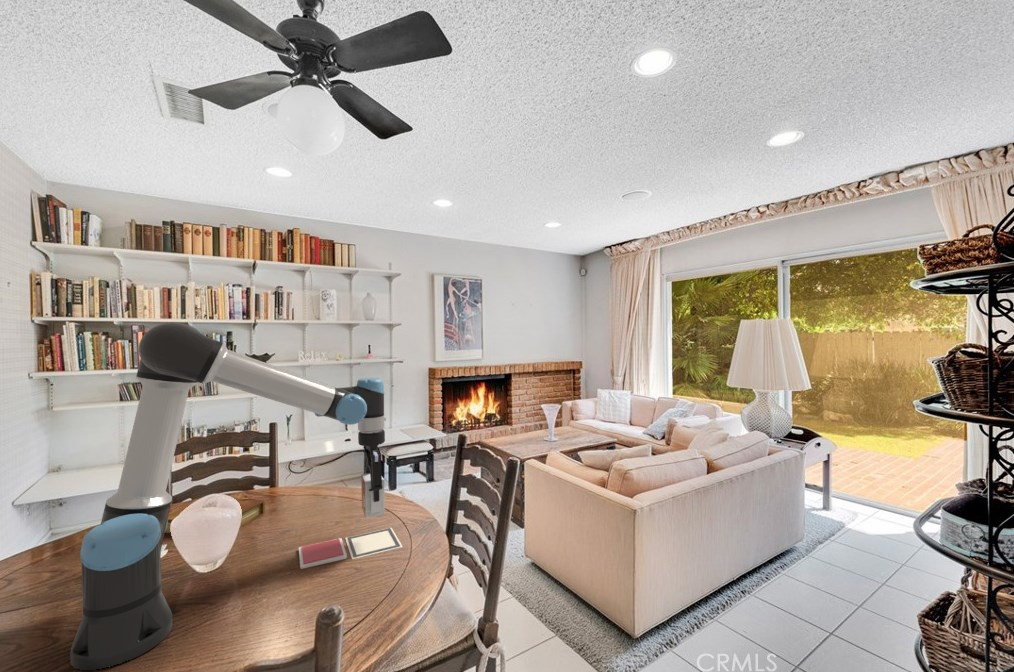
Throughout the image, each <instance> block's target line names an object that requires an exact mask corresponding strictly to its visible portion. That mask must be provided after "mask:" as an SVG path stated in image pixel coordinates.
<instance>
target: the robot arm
mask: <svg viewBox="0 0 1014 672" xmlns="http://www.w3.org/2000/svg"><path fill="white" fill-rule="evenodd" d="M138 355H139V358H140V360H139V364H138V368H137V372H136V376H135V378H136V379H137V380H138V381H139V383H140V384H141V385H142V387H141V392H140V395H139V396H140V397H139V400H138V405H137V409H136V413H135V417H134V422H133V426H132V430H131V434H130V438H129V443H128V447H127V451H126V455H125V459H124V463H123V468H122V471H121V477H120V479H119V485H118V489H117V492H116V493H114V494H113V495H112V496H110V497H109V498H107V499H106V502H105V505H104V509H103V513H102V517H101V521H100V524H98V525H95V526H94V527H93V528H91V529H90V530H89V531H88V532H87V533H86V534H85V535H84V537H83V539H82V543H81V548H80V550H79V551H80V552H79V557H80V561H81V585H82V586H81V587H82V588H81V589H82V592H81V593H82V616H81V617H82V618H81V621H80V622H79V623H80V624H79V626H78V628H77V630H76V631H77V632H76V634H75V637H74V640H73V642H72V645H71V647H70V665H71V667H72V666H73V667H74V668H73V667H72V668H73V669H75V668H76V669H75V670H77V669H80V670H79V671H82V670H93V671H97V670H96V669H100V670H103V669H102V668H105V669H107V668H106V667H109V666H112V667H114V666H113V665H116V664H119V665H120V663H121V664H123V663H122V662H124V663H126V662H125V661H127V662H128V660H129V661H131V660H133V659H136V658H137V657H140V656H141V655H143V654H145V653H147V652H149V651H150V650H152V649H153V648H154V647H156V646H157V645H159V644H160V643H161V642H162V641H163V640H165V639H166V637H168V635H169V634H170V632H171V631H172V629H173V625H174V624H173V623H174V622H173V613H172V611H171V608H170V606H169V604H168V602H167V600H166V598H165V596H164V594H163V592H162V572H161V571H162V570H161V569H162V567H161V565H162V563H161V559H162V558H161V548H162V545H163V542H164V537H165V533H166V532H165V531H166V528H167V523H168V515H169V513H170V512H171V511H170V509H171V506H172V501H173V496H171V494H170V493H169V492H168V491H167V487H168V484H169V480H170V479H169V478H170V474H171V470H172V467H173V466H172V465H173V461H174V456H175V453H176V448H177V444H178V439H179V435H180V430H181V425H182V421H183V417H184V412H185V408H186V404H187V399H188V395H189V392H190V390H191V389H192V388H193V387H195V386H197V385H198V384H199V383H200V384H207V383H210V382H212V383H217V384H220V385H223V386H226V387H230V388H233V389H236V390H239V391H242V392H245V393H248V394H252V395H255V396H259V397H262V398H265V399H268V400H272V401H274V402H278V403H282V404H285V405H287V406H291V407H294V408H297V409H300V410H303V411H304V410H305V411H308V412H311V413H314V415H315V416H316V417H325V418H329V419H333V420H336V421H339V422H340V423H342V424H344V425H349V426H350V425H351V426H352V425H357V431H359V432H358V433H357V434H358V437H357V439H358V444H359V446H362V447H363V473H362V474H367V473H370V478H371V489H369V491H371V513H375V512H380V511H381V489H382V477H383V476H382V475H383V474H382V454H381V450H380V449H379V447H378V446H379V445H382V444H384V443H385V441H386V437H385V436H386V435H385V433H386V432H385V430H384V428H385V422H386V421H387V417H385V389H384V381H383V379H381V378H380V377H364V378H359V379H358V380H357V381H356V385H354V386H347V387H335V386H332V385H330V384H326V383H324V382H322V381H318V380H315V379H313V378H309V377H307V376H304V375H301V374H298V373H295V372H293V371H290V370H287V369H285V368H282V367H280V366H279V367H278V366H276V365H272V364H269V363H267V362H264V361H262V360H259V359H256V358H253V357H250V356H247V355H244V354H242V353H238V352H236V351H233V350H231V349H228V347H227V345H226V344H225V342H221V341H218V340H216V339H214V338H211V337H209V336H207V335H205V334H203V333H201V332H200V331H199V330H198V329H197V328H195V327H193V326H191V325H190V324H185V323H181V322H165V323H160V324H157V325H156V326H153V327H151V328H150V329H149V330H147V331H146V332H145V333H144V334H143V336H142V337H141V339H140V341H139V344H138ZM376 485H377V486H376ZM116 666H117V665H116ZM109 668H110V667H109Z"/></svg>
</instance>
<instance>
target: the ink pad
mask: <svg viewBox="0 0 1014 672" xmlns="http://www.w3.org/2000/svg"><path fill="white" fill-rule="evenodd" d="M298 555H299V558H298V559H299V568H300V570H301V569H307V568H310V567H311V568H312V567H315V566H319V565H324V564H329V563H333V562H338V561H342V560H346V559H348V555H347V551H346V548H345V545H344V541H343V539H342V537H339V538H335V539H331V540H326V541H321V542H317V543H312V544H308V545H304V546H298Z"/></svg>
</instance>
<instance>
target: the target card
mask: <svg viewBox="0 0 1014 672" xmlns="http://www.w3.org/2000/svg"><path fill="white" fill-rule="evenodd" d="M344 538H345V539H344V540H345V543H346V545H347V548H348V551H349V555H350V558H351V560H357V559H360V558H365V557H369V556H373V555H378V554H382V553H387V552H391V551H396V550H399V549H403V547H404V546H403V545H402V543H401V541H400V539H399V538H398V536H397V535H396V533H395V531H394V529H393V528H392V527H388V528H383V529H378V530H374V531H370V532H369V531H368V532H366V533H361V534H357V535H353V536H352V535H351V536H348V537H344Z"/></svg>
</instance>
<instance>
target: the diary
mask: <svg viewBox="0 0 1014 672" xmlns="http://www.w3.org/2000/svg"><path fill="white" fill-rule="evenodd" d="M234 499H236V500H237V501H238V502H239V503H240V506H241V509H242V524H241V528H243V527H244V526H246V525H248V524H251V523H252V522H254V521H256V520H257V519H259V518H261V517H263V516H264V515H265V514H266V502H265V500H264V499H252V498H251V499H250V498H249V499H248V498H236V497H235V498H234ZM190 504H191V503H189V504H187V505H185V506H182V507H180V508H178V509H175V510H174V511H170V512H169V515H168V523H167V528H166V531H165V533H167V534H171V533H170V523H171V521H172V520H173V519H174V518H175V517H176V516H177V515H178V514H179V513H180V512H181V511H183V510H184V509H185V508H186V507H188V506H189V505H190Z"/></svg>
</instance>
